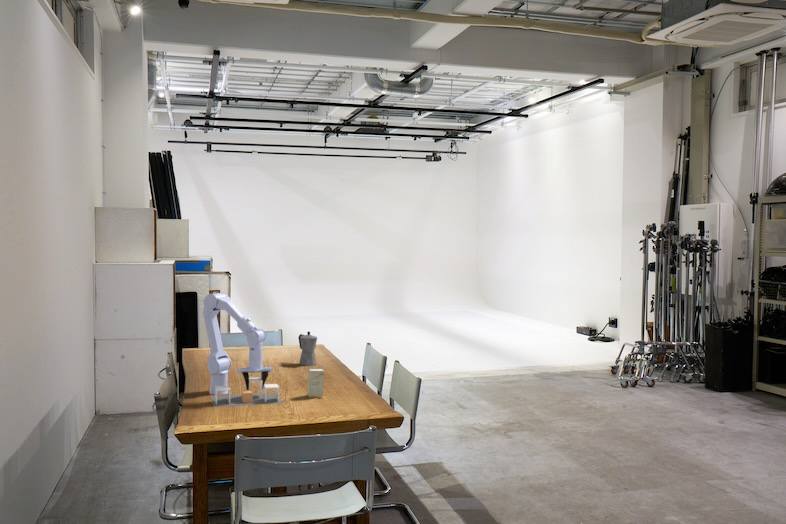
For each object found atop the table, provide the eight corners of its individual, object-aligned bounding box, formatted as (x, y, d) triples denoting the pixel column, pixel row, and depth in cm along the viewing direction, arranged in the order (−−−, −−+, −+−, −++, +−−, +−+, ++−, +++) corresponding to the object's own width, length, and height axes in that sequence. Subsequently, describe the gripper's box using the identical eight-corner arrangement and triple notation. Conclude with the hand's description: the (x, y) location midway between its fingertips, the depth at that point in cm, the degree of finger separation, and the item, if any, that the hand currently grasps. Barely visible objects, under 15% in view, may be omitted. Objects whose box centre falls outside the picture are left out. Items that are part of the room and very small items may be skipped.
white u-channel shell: (247, 392, 287) (247, 377, 287) (260, 391, 289) (260, 377, 288) (248, 395, 281) (249, 381, 281) (262, 394, 283) (262, 380, 283)
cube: (241, 400, 278) (241, 391, 278) (251, 399, 280) (251, 390, 280) (242, 402, 275) (243, 393, 274) (252, 402, 276) (252, 392, 276)
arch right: (263, 398, 282) (263, 384, 282) (276, 398, 284) (276, 383, 284) (265, 402, 277) (265, 387, 276) (278, 401, 279) (279, 387, 278)
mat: (210, 397, 283) (210, 396, 283) (276, 394, 292) (276, 393, 292) (213, 408, 267) (213, 406, 267) (282, 404, 276) (282, 403, 276)
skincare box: (309, 398, 288) (310, 371, 287) (307, 396, 292) (307, 369, 291) (323, 397, 290) (324, 370, 289) (320, 395, 294) (321, 368, 294)
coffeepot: (322, 365, 360) (323, 332, 359) (308, 367, 354) (309, 333, 353) (305, 360, 371) (306, 328, 370) (291, 362, 365) (292, 330, 364)
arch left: (214, 401, 276) (215, 386, 276) (228, 400, 278) (229, 385, 277) (216, 404, 270) (216, 389, 270) (230, 404, 272) (230, 389, 272)
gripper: (239, 360, 278) (238, 392, 279) (274, 359, 283) (273, 390, 284) (237, 357, 285) (236, 388, 285) (271, 356, 290) (270, 386, 290)
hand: (254, 389), depth 285 cm, fingers closed on white u-channel shell, 5 cm apart
